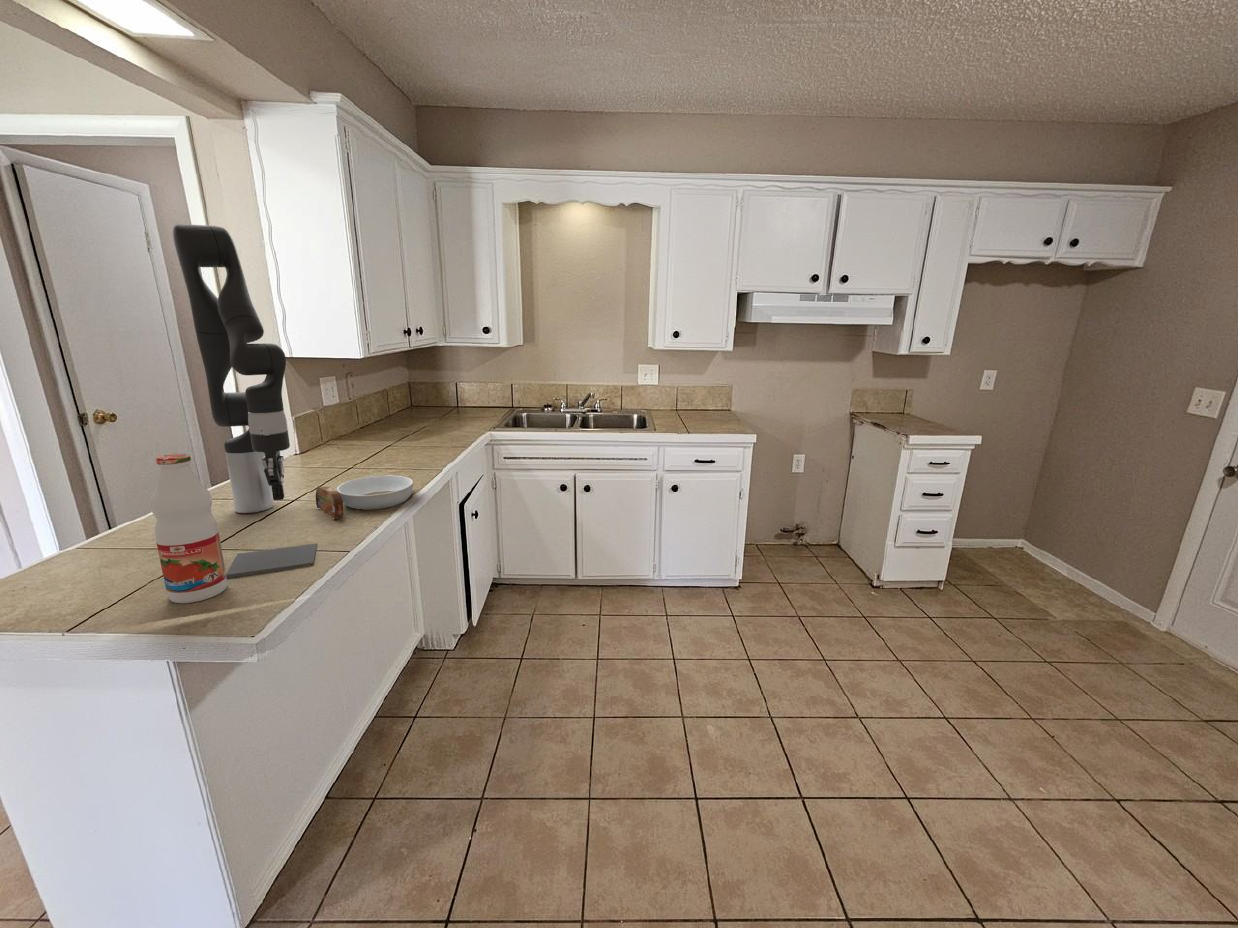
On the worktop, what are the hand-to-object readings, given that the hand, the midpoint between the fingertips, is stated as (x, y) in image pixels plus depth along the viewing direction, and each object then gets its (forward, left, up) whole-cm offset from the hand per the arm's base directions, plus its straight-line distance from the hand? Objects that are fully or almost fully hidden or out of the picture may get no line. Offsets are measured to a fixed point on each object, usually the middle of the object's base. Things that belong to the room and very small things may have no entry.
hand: (279, 499), depth 128 cm
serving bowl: (-21, +22, -11) cm, 32 cm away
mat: (+13, 0, -11) cm, 17 cm away
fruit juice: (+25, -12, -11) cm, 30 cm away
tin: (-14, +10, -11) cm, 21 cm away
